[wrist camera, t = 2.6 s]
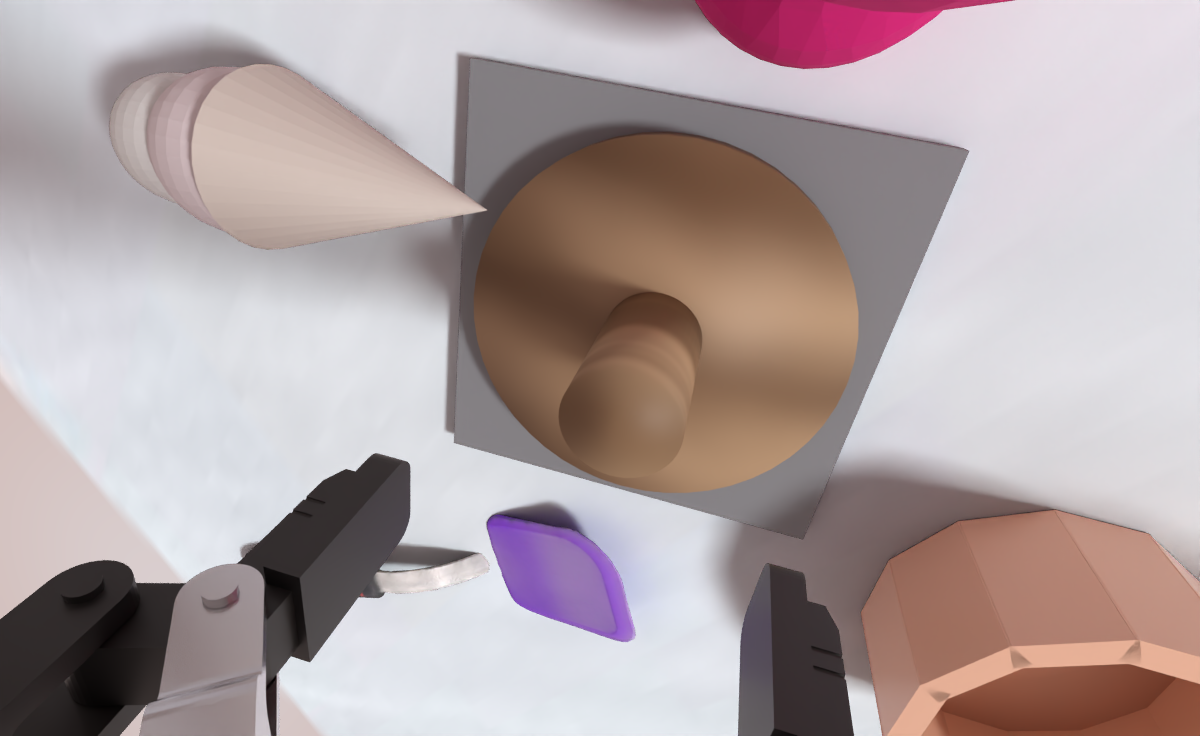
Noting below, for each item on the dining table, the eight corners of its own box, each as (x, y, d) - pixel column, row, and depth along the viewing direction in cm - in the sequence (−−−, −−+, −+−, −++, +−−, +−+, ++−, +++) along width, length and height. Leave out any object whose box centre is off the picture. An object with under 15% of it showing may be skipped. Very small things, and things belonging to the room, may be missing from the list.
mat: (477, 58, 21) (470, 58, 20) (963, 148, 19) (969, 151, 18) (459, 435, 29) (454, 442, 28) (802, 530, 26) (802, 539, 26)
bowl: (932, 477, 24) (978, 594, 19) (1283, 568, 22) (1441, 723, 17) (827, 674, 30) (841, 803, 25) (1097, 756, 28) (1173, 914, 23)
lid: (495, 96, 21) (384, 114, 15) (920, 177, 19) (996, 236, 13) (475, 431, 27) (395, 538, 21) (787, 514, 26) (795, 657, 20)
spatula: (277, 595, 39) (249, 626, 36) (229, 509, 36) (196, 538, 34) (647, 609, 31) (639, 649, 29) (622, 504, 29) (611, 540, 27)
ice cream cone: (550, 199, 22) (246, 134, 27) (499, 53, 17) (127, 0, 21) (478, 341, 20) (160, 244, 25) (392, 226, 15) (5, 128, 19)
